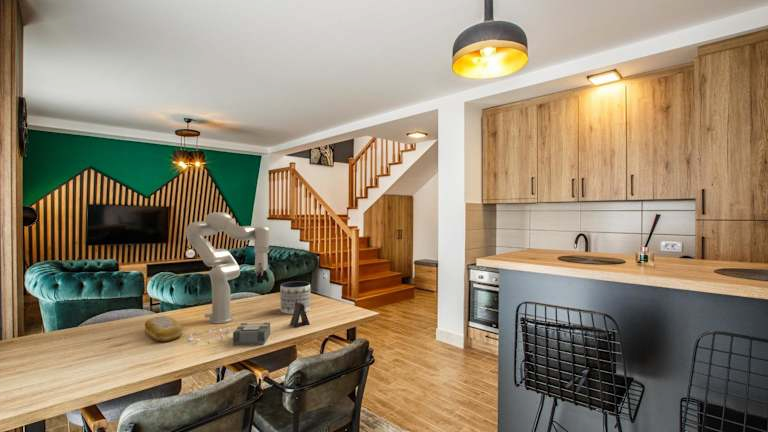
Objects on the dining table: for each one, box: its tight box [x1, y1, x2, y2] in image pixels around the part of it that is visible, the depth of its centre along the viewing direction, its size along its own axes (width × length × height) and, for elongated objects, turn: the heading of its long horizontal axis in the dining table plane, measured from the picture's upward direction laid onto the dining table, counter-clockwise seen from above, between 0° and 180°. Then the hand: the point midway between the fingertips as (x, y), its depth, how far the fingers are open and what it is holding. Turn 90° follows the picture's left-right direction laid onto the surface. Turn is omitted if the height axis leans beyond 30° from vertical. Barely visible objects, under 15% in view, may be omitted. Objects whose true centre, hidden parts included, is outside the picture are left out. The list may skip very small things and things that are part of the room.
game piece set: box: [187, 325, 231, 345], centre depth 181 cm, size 19×20×4 cm
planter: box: [279, 280, 311, 315], centre depth 229 cm, size 18×18×16 cm
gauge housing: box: [232, 322, 271, 347], centre depth 178 cm, size 14×14×6 cm
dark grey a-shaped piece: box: [289, 302, 311, 328], centre depth 201 cm, size 9×6×12 cm, turn 126°
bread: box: [144, 315, 183, 343], centre depth 184 cm, size 13×26×8 cm, turn 51°
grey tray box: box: [236, 323, 267, 331], centre depth 178 cm, size 14×9×5 cm, turn 96°
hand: (261, 281), depth 198 cm, fingers open, 9 cm apart
